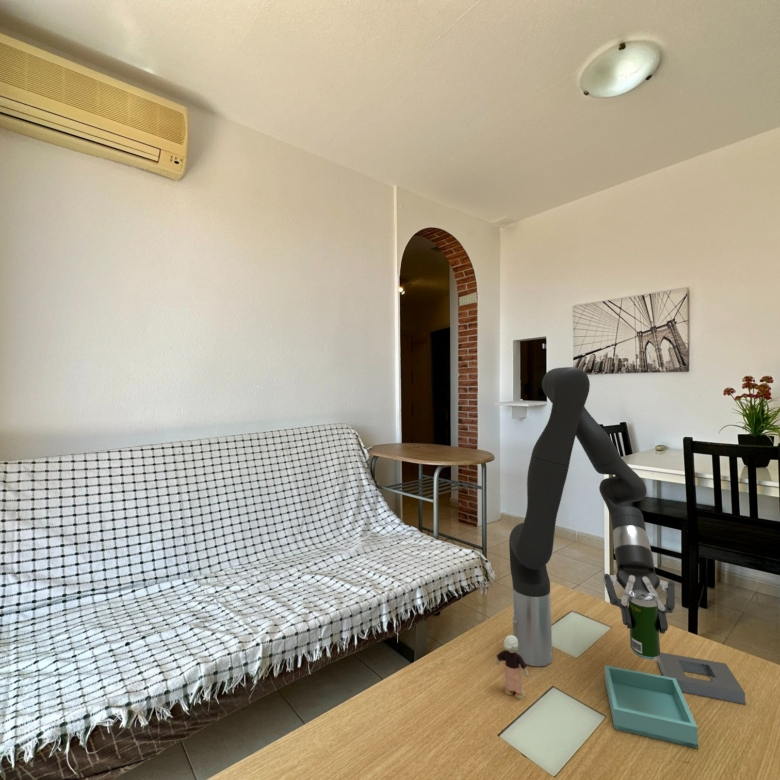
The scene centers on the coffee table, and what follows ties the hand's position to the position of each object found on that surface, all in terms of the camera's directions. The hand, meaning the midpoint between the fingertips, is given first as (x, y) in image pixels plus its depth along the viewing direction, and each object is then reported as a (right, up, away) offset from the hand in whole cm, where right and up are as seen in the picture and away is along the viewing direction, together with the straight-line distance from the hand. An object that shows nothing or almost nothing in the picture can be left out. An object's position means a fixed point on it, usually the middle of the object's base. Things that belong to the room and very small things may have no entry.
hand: (645, 629), depth 85 cm
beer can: (+1, -6, +2) cm, 6 cm away
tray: (+1, -18, +1) cm, 18 cm away
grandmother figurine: (-25, -19, +8) cm, 33 cm away
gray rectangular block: (+18, -18, +10) cm, 27 cm away
